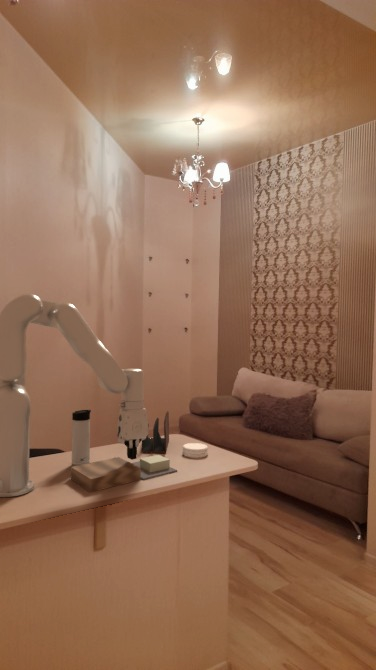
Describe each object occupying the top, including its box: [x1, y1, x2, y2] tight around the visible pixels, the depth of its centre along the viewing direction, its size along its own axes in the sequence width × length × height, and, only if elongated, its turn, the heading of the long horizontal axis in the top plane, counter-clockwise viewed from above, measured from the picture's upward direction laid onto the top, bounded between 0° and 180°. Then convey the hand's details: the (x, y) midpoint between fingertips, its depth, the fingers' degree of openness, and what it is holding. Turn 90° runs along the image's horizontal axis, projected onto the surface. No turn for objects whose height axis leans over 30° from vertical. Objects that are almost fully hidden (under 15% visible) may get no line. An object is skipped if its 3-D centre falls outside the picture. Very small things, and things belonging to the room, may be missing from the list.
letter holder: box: [140, 411, 170, 455], centre depth 184 cm, size 10×20×14 cm, turn 179°
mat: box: [131, 460, 178, 481], centre depth 156 cm, size 14×16×1 cm
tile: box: [139, 454, 171, 472], centre depth 156 cm, size 8×7×3 cm
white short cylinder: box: [182, 442, 209, 459], centre depth 175 cm, size 10×10×4 cm
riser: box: [70, 456, 142, 493], centre depth 145 cm, size 18×14×4 cm
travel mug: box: [71, 409, 92, 467], centre depth 159 cm, size 6×7×20 cm
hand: (131, 458), depth 151 cm, fingers closed
